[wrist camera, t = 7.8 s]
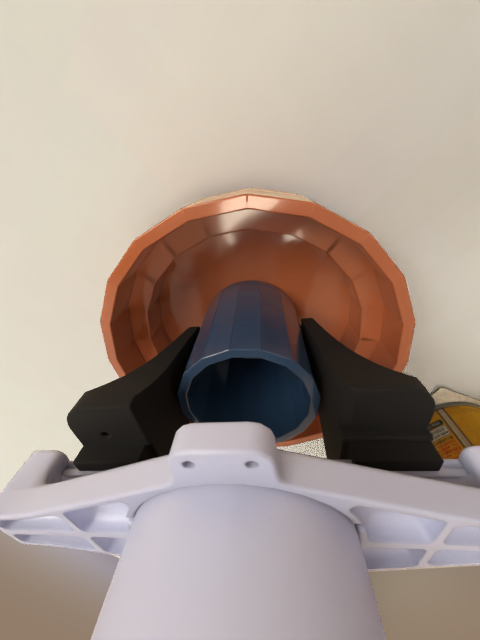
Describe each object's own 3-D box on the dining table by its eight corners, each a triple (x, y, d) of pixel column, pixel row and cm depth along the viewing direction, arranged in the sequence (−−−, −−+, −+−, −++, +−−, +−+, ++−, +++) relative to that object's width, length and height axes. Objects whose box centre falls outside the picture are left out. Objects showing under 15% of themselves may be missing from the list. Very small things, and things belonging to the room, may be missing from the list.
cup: (316, 322, 15) (350, 408, 10) (252, 369, 18) (249, 460, 12) (250, 259, 13) (244, 320, 8) (188, 322, 16) (151, 402, 10)
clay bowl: (420, 316, 15) (474, 364, 11) (254, 418, 22) (253, 471, 18) (249, 108, 11) (243, 72, 7) (101, 317, 17) (54, 359, 13)
